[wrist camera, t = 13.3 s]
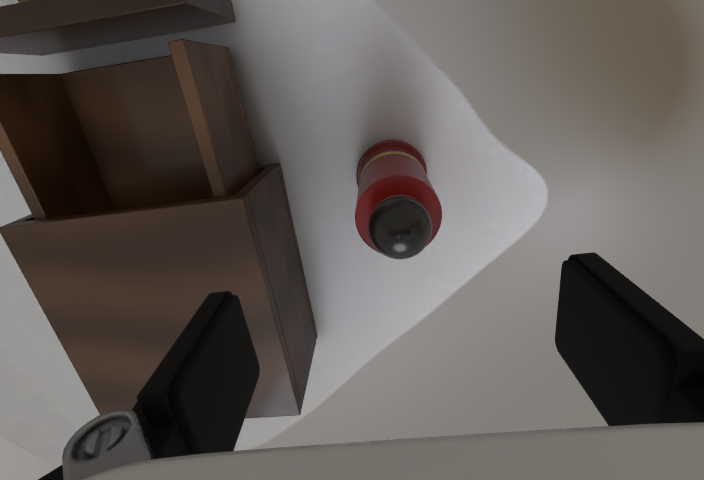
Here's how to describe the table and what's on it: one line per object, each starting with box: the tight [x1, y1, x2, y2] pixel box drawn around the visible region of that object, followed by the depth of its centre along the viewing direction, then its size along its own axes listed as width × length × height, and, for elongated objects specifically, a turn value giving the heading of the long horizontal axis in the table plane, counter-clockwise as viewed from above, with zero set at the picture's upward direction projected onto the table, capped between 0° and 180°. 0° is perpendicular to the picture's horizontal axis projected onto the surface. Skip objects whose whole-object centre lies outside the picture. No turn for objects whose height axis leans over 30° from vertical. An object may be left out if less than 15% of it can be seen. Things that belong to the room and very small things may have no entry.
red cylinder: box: [355, 140, 442, 259], centre depth 22 cm, size 5×5×12 cm
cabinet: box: [0, 163, 317, 418], centre depth 27 cm, size 16×14×9 cm
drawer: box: [0, 0, 259, 220], centre depth 22 cm, size 19×13×7 cm
